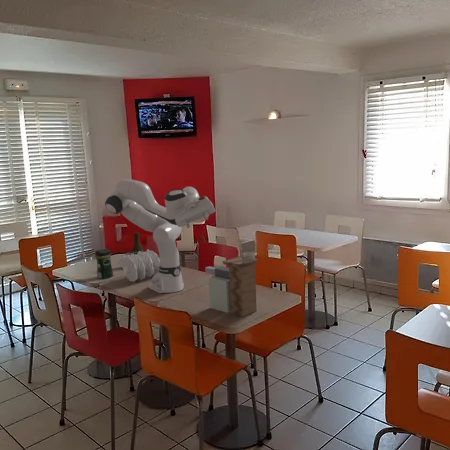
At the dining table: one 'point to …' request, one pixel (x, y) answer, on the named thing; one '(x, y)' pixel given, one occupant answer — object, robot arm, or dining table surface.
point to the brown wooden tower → (243, 280)
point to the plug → (218, 271)
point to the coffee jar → (103, 263)
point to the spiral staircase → (140, 265)
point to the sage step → (220, 294)
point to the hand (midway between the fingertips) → (197, 222)
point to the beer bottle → (136, 244)
